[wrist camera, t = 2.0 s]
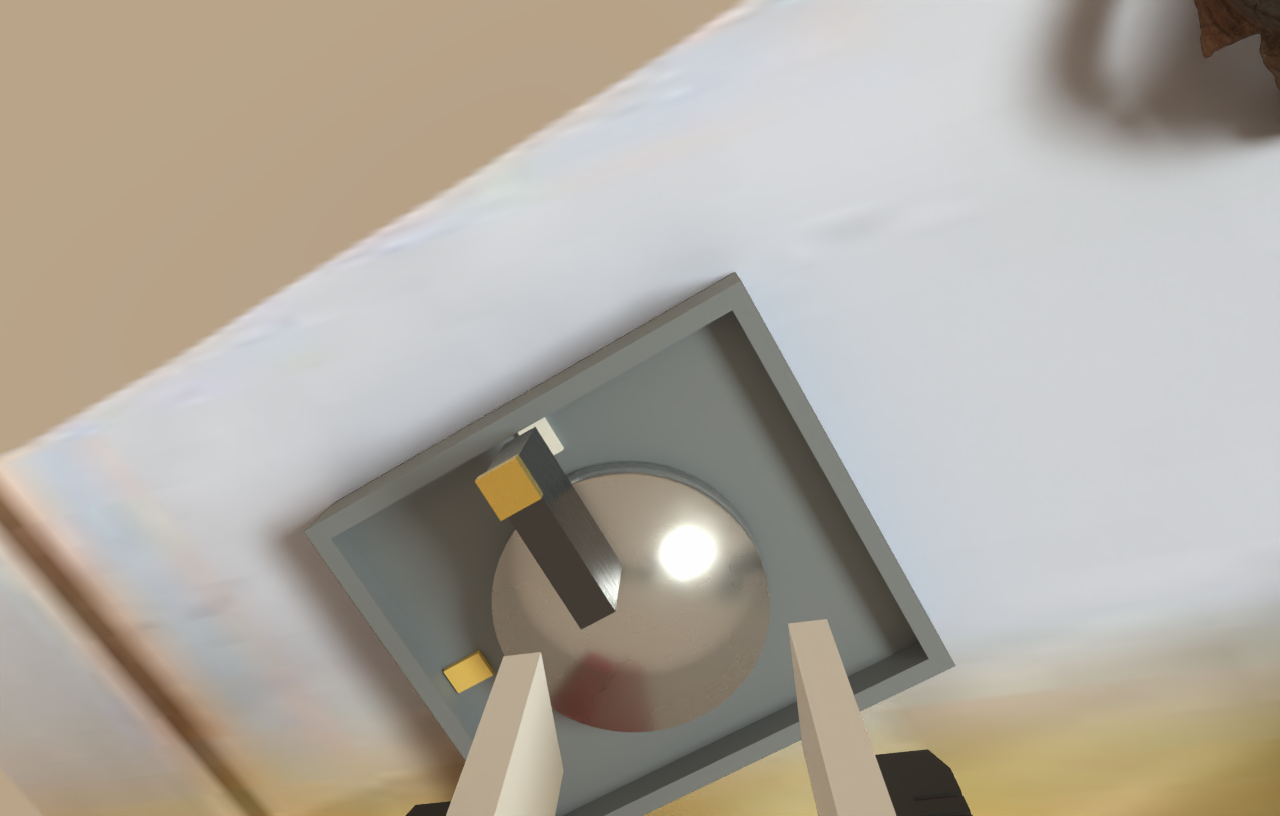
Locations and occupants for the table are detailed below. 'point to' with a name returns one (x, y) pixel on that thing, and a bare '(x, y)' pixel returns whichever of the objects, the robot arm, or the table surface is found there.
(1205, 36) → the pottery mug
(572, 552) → the dial
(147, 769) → the table surface
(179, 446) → the table surface
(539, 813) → the robot arm
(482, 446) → the grey tray
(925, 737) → the table surface
